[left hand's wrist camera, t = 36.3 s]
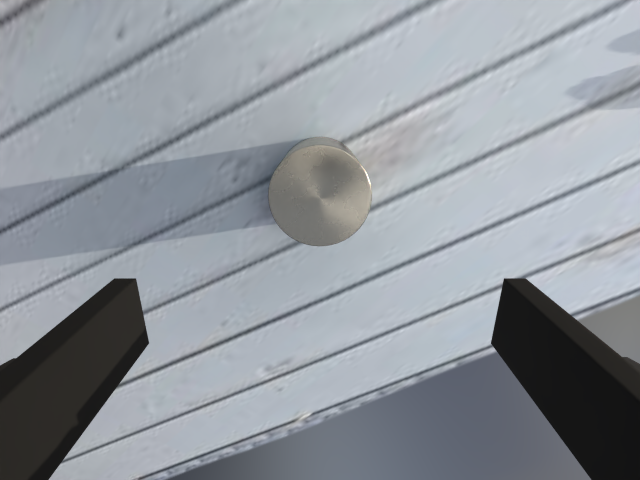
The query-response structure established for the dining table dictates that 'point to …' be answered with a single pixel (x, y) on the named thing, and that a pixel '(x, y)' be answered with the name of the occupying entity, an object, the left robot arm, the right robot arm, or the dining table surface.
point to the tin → (320, 192)
